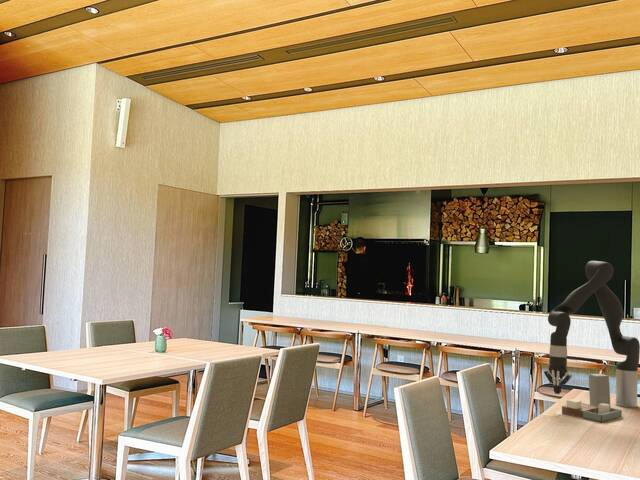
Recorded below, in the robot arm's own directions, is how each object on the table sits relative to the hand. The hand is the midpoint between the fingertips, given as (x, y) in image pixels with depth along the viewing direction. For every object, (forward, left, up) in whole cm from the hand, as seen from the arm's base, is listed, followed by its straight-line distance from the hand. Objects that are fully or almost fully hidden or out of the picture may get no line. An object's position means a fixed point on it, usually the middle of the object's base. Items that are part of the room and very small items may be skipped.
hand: (557, 393), depth 273 cm
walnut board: (-5, +9, -8) cm, 13 cm away
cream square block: (0, +8, -5) cm, 9 cm away
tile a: (-10, +15, -5) cm, 19 cm away
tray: (-5, +18, -8) cm, 21 cm away
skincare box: (-23, +8, -8) cm, 26 cm away
